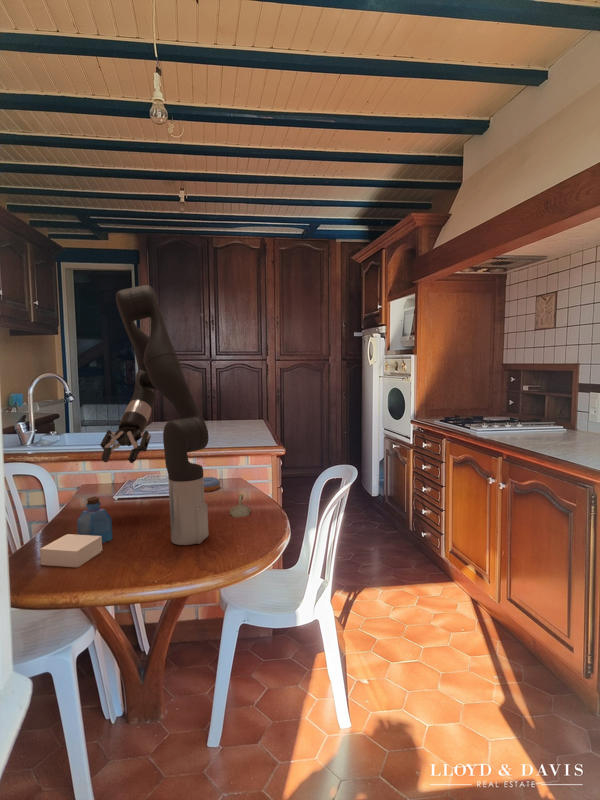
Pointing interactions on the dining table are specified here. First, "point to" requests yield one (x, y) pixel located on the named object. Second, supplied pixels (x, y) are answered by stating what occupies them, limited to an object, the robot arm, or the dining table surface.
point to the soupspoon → (240, 509)
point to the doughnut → (210, 484)
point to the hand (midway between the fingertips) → (117, 461)
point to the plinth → (71, 550)
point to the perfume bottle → (95, 521)
